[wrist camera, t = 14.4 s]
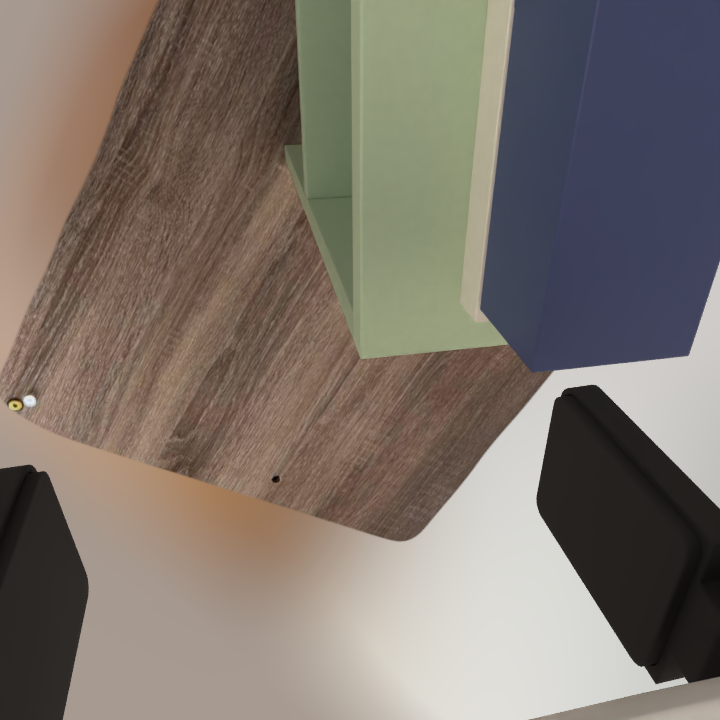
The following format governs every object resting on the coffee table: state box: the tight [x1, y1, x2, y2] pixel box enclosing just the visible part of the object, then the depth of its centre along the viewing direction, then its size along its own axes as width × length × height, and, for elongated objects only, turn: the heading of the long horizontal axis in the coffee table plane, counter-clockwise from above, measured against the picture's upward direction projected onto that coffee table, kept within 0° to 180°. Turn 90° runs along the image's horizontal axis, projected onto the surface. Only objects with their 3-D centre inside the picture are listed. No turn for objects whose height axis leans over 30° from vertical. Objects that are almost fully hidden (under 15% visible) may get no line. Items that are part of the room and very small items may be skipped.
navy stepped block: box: [460, 0, 720, 373], centre depth 16 cm, size 5×12×6 cm, turn 0°
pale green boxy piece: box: [284, 0, 508, 359], centre depth 32 cm, size 12×16×32 cm
